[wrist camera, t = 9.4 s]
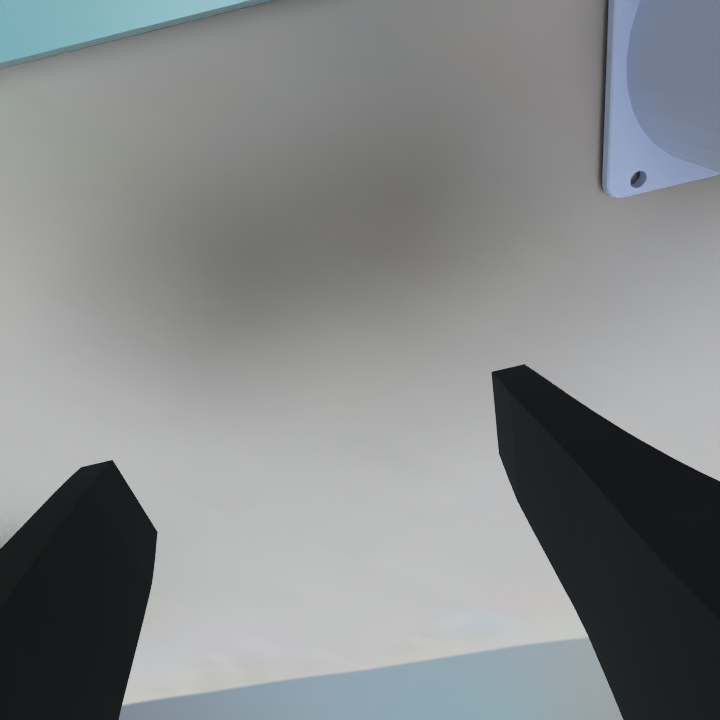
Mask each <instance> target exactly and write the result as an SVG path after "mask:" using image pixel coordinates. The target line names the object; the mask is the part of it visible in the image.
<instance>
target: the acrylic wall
mask: <svg viewBox="0 0 720 720" xmlns="http://www.w3.org/2000/svg"><path fill="white" fill-rule="evenodd" d="M269 1H273V0H0V69H1V68H5V67H9V66H13V65H17V64H21V63H25V62H29V61H33V60H37V59H41V58H45V57H49V56H53V55H57V54H61V53H65V52H69V51H73V50H77V49H81V48H85V47H89V46H93V45H97V44H101V43H105V42H109V41H113V40H117V39H121V38H125V37H129V36H133V35H137V34H141V33H145V32H149V31H153V30H157V29H161V28H165V27H169V26H173V25H177V24H181V23H185V22H189V21H193V20H197V19H201V18H205V17H209V16H213V15H217V14H221V13H225V12H229V11H233V10H237V9H241V8H245V7H249V6H253V5H257V4H261V3H265V2H269Z"/></svg>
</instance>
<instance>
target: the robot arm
mask: <svg viewBox="0 0 720 720" xmlns="http://www.w3.org/2000/svg"><path fill="white" fill-rule="evenodd" d="M638 171H640V176H639V179H638V180H637V182H636V183H634V184H632V185H631V183H630V180H631V177H632V176H633V175H634V174H635V173H636V172H638ZM717 175H720V0H609V7H608V36H607V64H606V92H605V120H604V148H603V176H602V186H603V190H604V192H605V193H606V194H607V195H609V196H611V197H613V198H624V197H629V196H633V195H637V194H641V193H645V192H650V191H654V190H658V189H662V188H666V187H671V186H675V185H679V184H683V183H687V182H692V181H696V180H700V179H704V178H708V177H712V176H717ZM492 381H493V392H494V403H495V414H496V425H497V436H498V447H499V455H500V457H501V460H502V463H503V465H504V468H505V470H506V473H507V476H508V478H509V481H510V483H511V486H512V488H513V491H514V493H515V496H516V498H517V501H518V503H519V505H520V507H521V509H522V510H523V512H524V514H525V516H526V518H527V520H528V522H529V524H530V526H531V527H532V529H533V531H534V533H535V535H536V537H537V539H538V541H539V542H540V544H541V546H542V548H543V550H544V552H545V554H546V555H547V557H548V559H549V561H550V563H551V565H552V567H553V568H554V570H555V572H556V574H557V576H558V578H559V580H560V582H561V583H562V585H563V587H564V589H565V591H566V593H567V595H568V596H569V598H570V600H571V602H572V604H573V606H574V608H575V609H576V612H577V614H578V616H579V618H580V620H581V622H582V624H583V626H584V628H585V630H586V632H587V634H588V636H589V639H590V641H591V643H592V646H593V648H594V650H595V652H596V655H597V657H598V660H599V662H600V664H601V667H602V669H603V671H604V674H605V676H606V679H607V681H608V683H609V686H610V688H611V690H612V692H613V695H614V698H615V700H616V702H617V705H618V707H619V710H620V712H621V715H622V717H623V719H624V720H720V481H718V480H716V479H714V478H712V477H709V476H707V475H705V474H703V473H701V472H699V471H697V470H695V469H693V468H691V467H689V466H687V465H685V464H683V463H681V462H679V461H677V460H675V459H673V458H672V457H670V456H668V455H666V454H664V453H663V452H661V451H659V450H657V449H655V448H654V447H652V446H650V445H648V444H646V443H645V442H643V441H641V440H639V439H637V438H636V437H634V436H632V435H631V434H629V433H627V432H626V431H624V430H622V429H621V428H619V427H618V426H616V425H615V424H613V423H611V422H610V421H608V420H607V419H605V418H603V417H602V416H600V415H599V414H597V413H595V412H594V411H592V410H591V409H589V408H588V407H586V406H585V405H583V404H582V403H580V402H579V401H577V400H576V399H574V398H573V397H571V396H570V395H568V394H567V393H565V392H564V391H563V390H561V389H560V388H558V387H557V386H555V385H554V384H552V383H551V382H550V381H548V380H547V379H545V378H544V377H542V376H541V375H539V374H538V373H537V372H535V371H534V370H532V369H531V368H529V367H528V366H526V365H525V364H524V365H520V366H515V367H511V368H507V369H503V370H498V371H494V372H492ZM156 541H157V531H156V529H155V527H154V526H153V524H152V523H151V521H150V519H149V518H148V516H147V515H146V513H145V511H144V510H143V508H142V507H141V505H140V503H139V502H138V500H137V499H136V497H135V495H134V494H133V492H132V491H131V489H130V487H129V486H128V484H127V483H126V481H125V479H124V478H123V476H122V475H121V473H120V471H119V470H118V468H117V467H116V465H115V463H114V462H113V460H111V461H107V462H102V463H98V464H94V465H89V466H85V467H81V468H80V469H79V470H78V471H77V472H76V473H74V474H73V475H72V476H71V477H70V478H69V479H68V480H67V481H66V482H65V483H64V484H63V485H62V486H61V487H60V488H59V489H58V490H57V491H56V492H55V493H54V494H53V495H52V496H51V497H50V498H49V499H48V500H47V501H46V502H45V503H44V504H43V505H42V506H41V507H40V508H39V509H38V511H37V512H36V513H35V514H34V515H33V516H32V517H31V518H30V519H29V520H28V521H27V522H26V523H25V524H24V525H23V526H22V527H21V528H20V529H19V530H18V531H17V532H16V534H15V535H14V536H13V537H12V538H11V539H10V540H9V541H8V542H7V543H6V544H5V545H4V546H3V547H2V548H1V549H0V720H119V715H120V710H121V706H122V702H123V698H124V694H125V690H126V687H127V683H128V679H129V675H130V671H131V667H132V663H133V659H134V655H135V651H136V647H137V643H138V639H139V635H140V631H141V627H142V623H143V619H144V615H145V611H146V607H147V602H148V598H149V594H150V590H151V585H152V578H153V570H154V562H155V552H156Z"/></svg>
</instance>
